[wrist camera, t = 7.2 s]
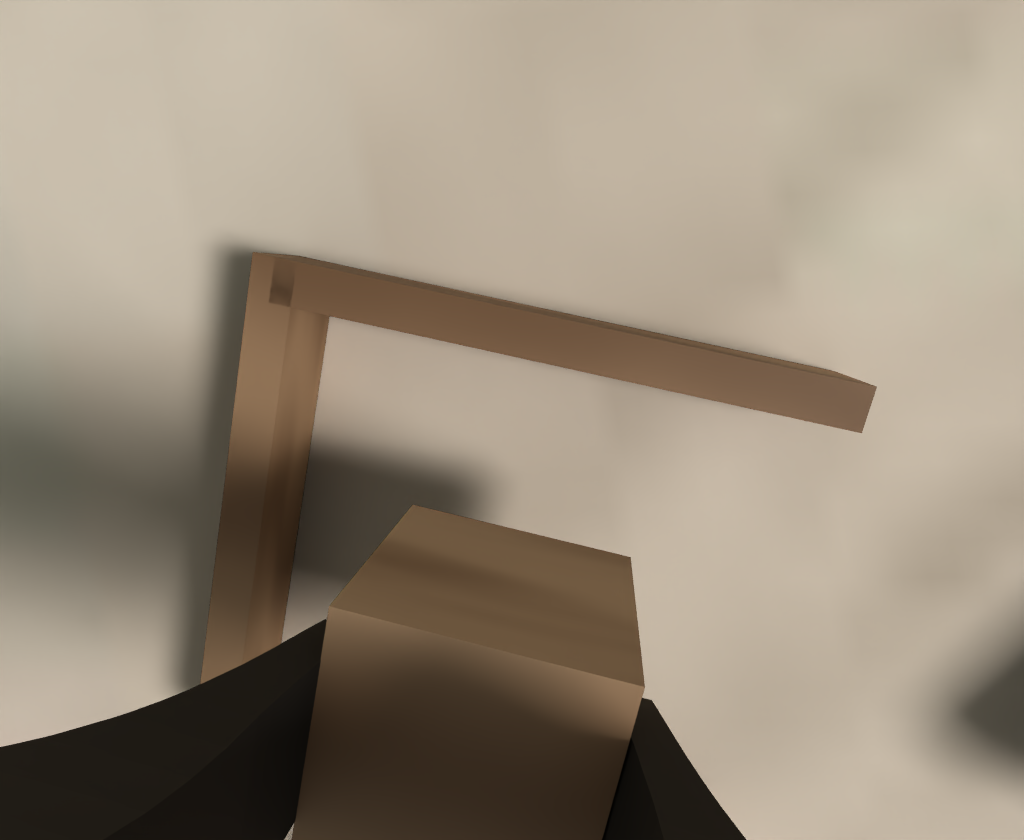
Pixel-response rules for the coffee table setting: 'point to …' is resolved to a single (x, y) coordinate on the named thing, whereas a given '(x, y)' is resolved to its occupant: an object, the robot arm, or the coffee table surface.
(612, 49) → the coffee table surface
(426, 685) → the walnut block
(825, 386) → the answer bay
